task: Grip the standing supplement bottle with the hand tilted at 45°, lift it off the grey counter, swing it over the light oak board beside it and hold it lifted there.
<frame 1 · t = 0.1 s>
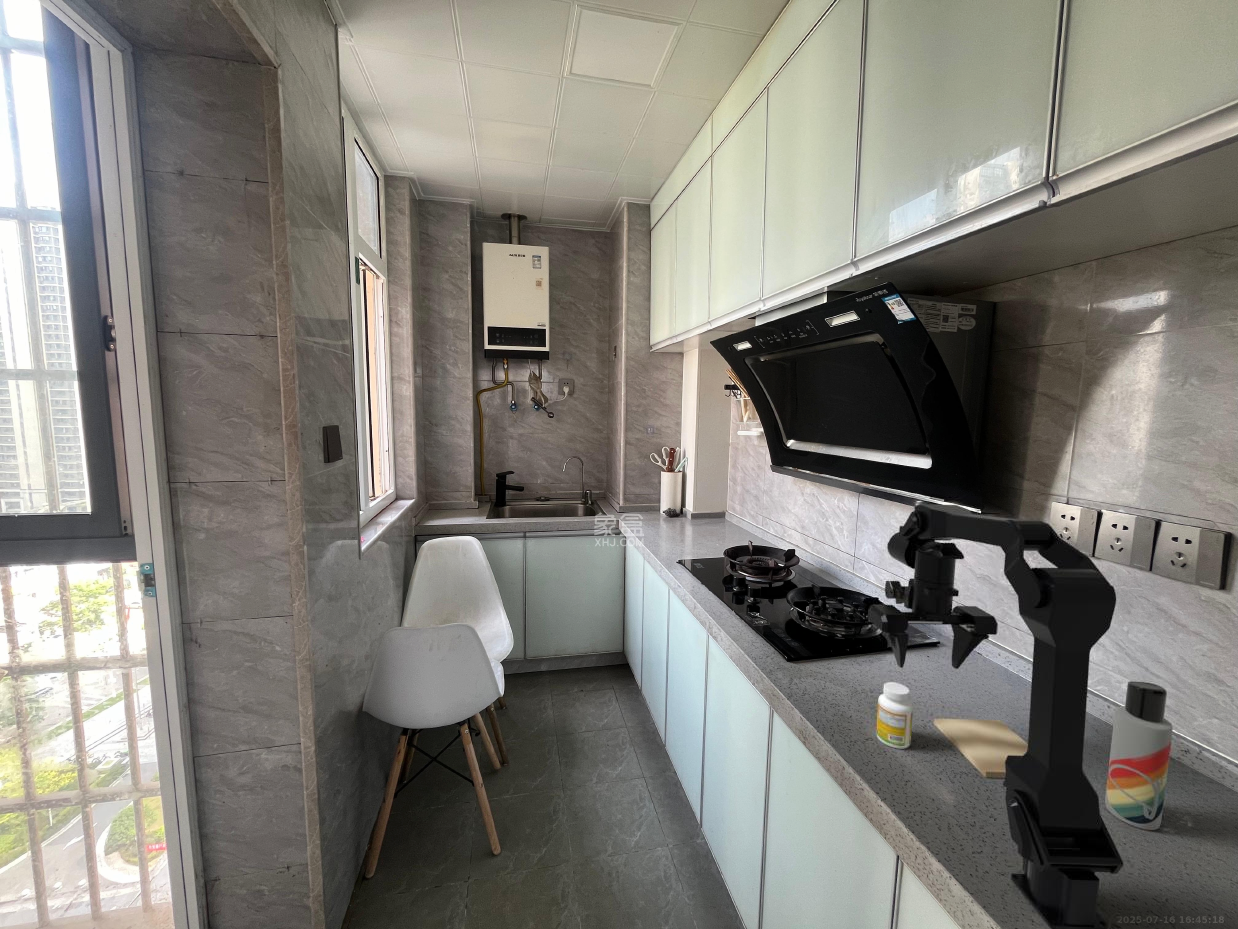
hand: (927, 667, 86), 15 cm above the worktop, tool pointing down, fingers open, 9 cm apart
supplement bottle: (893, 740, 90), on the worktop
lotion bottle: (1131, 816, 73), on the worktop
oak board: (992, 749, 87), on the worktop
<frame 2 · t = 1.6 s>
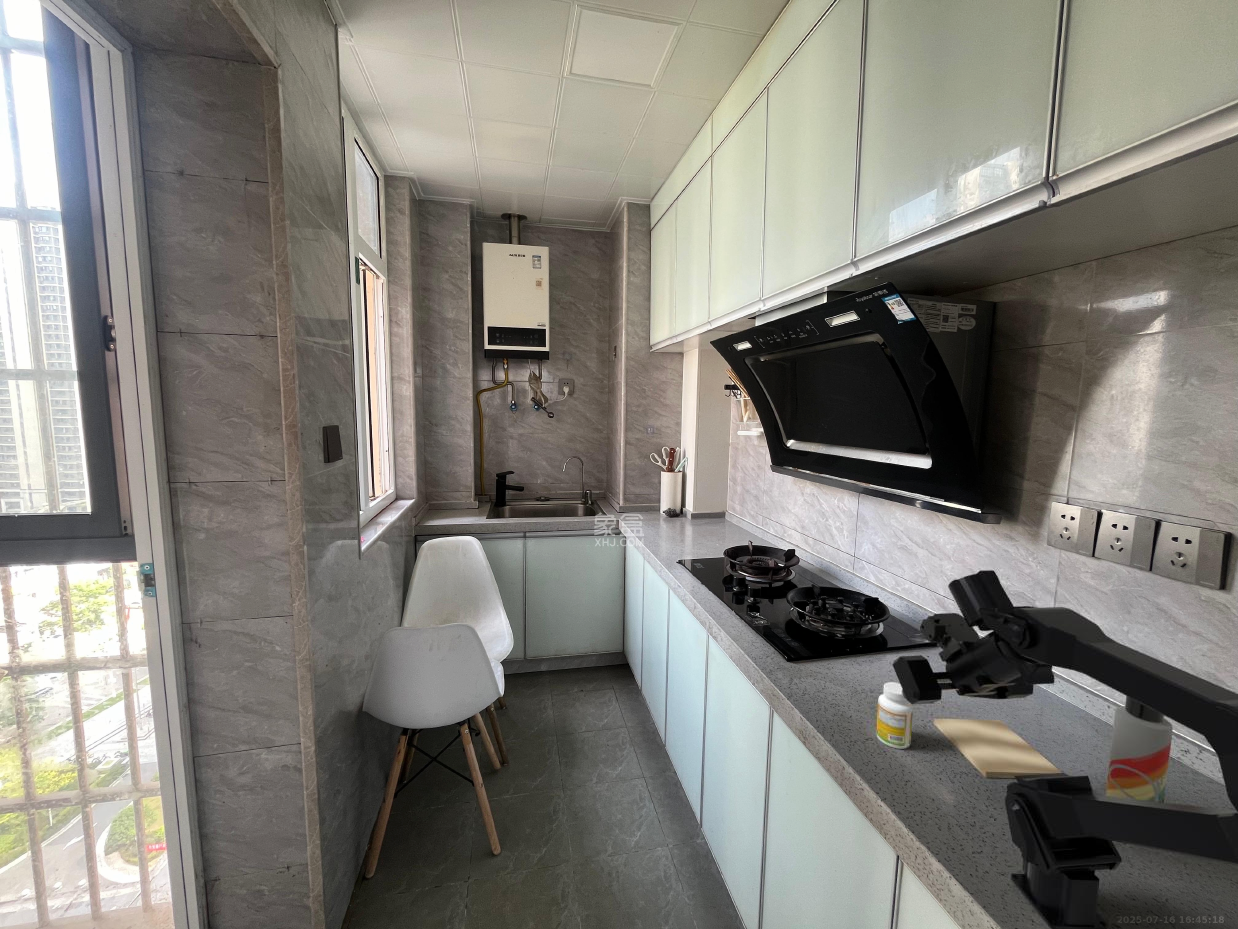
hand: (930, 693, 80), 13 cm above the worktop, tool tilted 45°, fingers open, 9 cm apart
nothing on the worktop moved.
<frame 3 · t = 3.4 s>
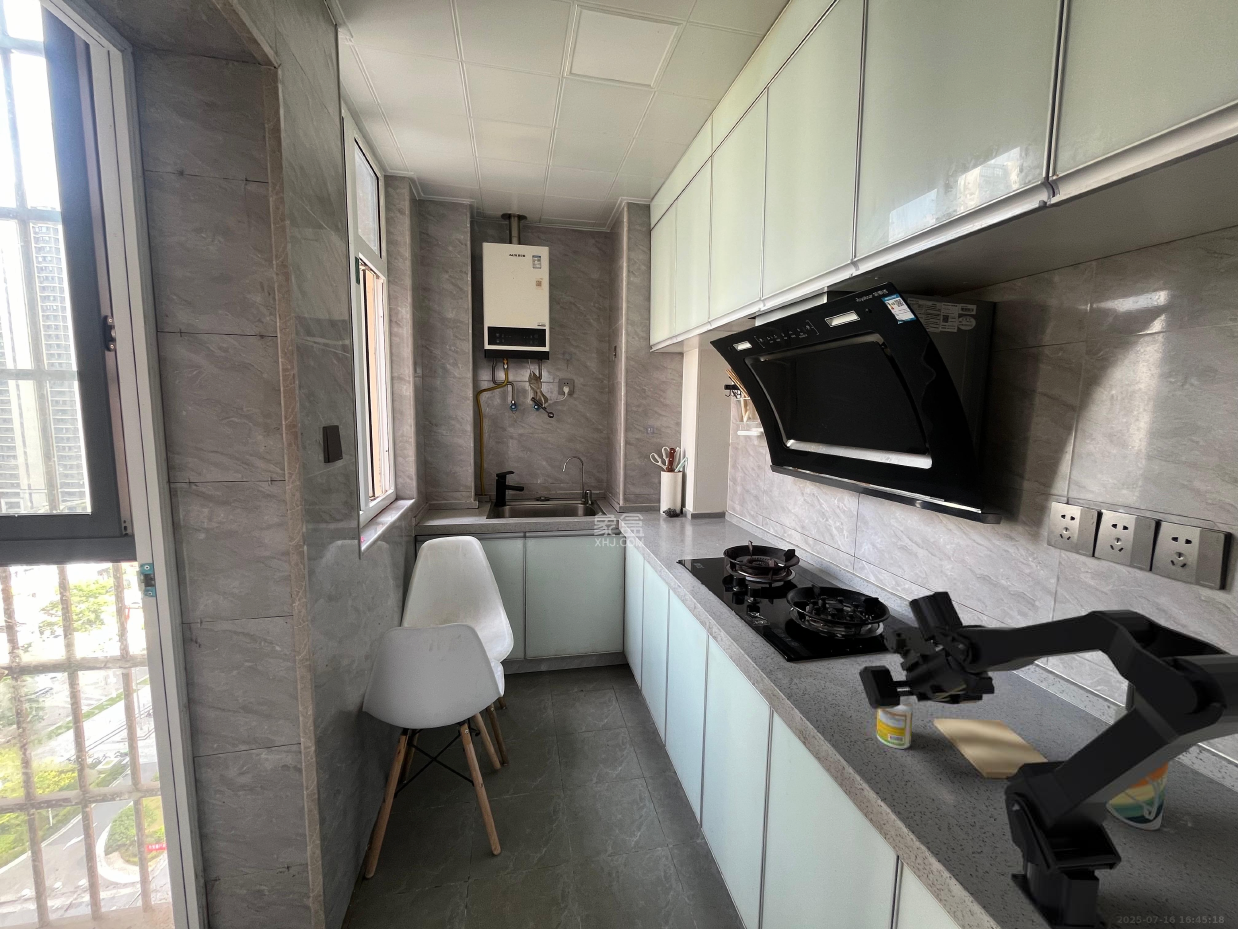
hand: (894, 697, 89), 8 cm above the worktop, tool tilted 45°, fingers open, 9 cm apart
nothing on the worktop moved.
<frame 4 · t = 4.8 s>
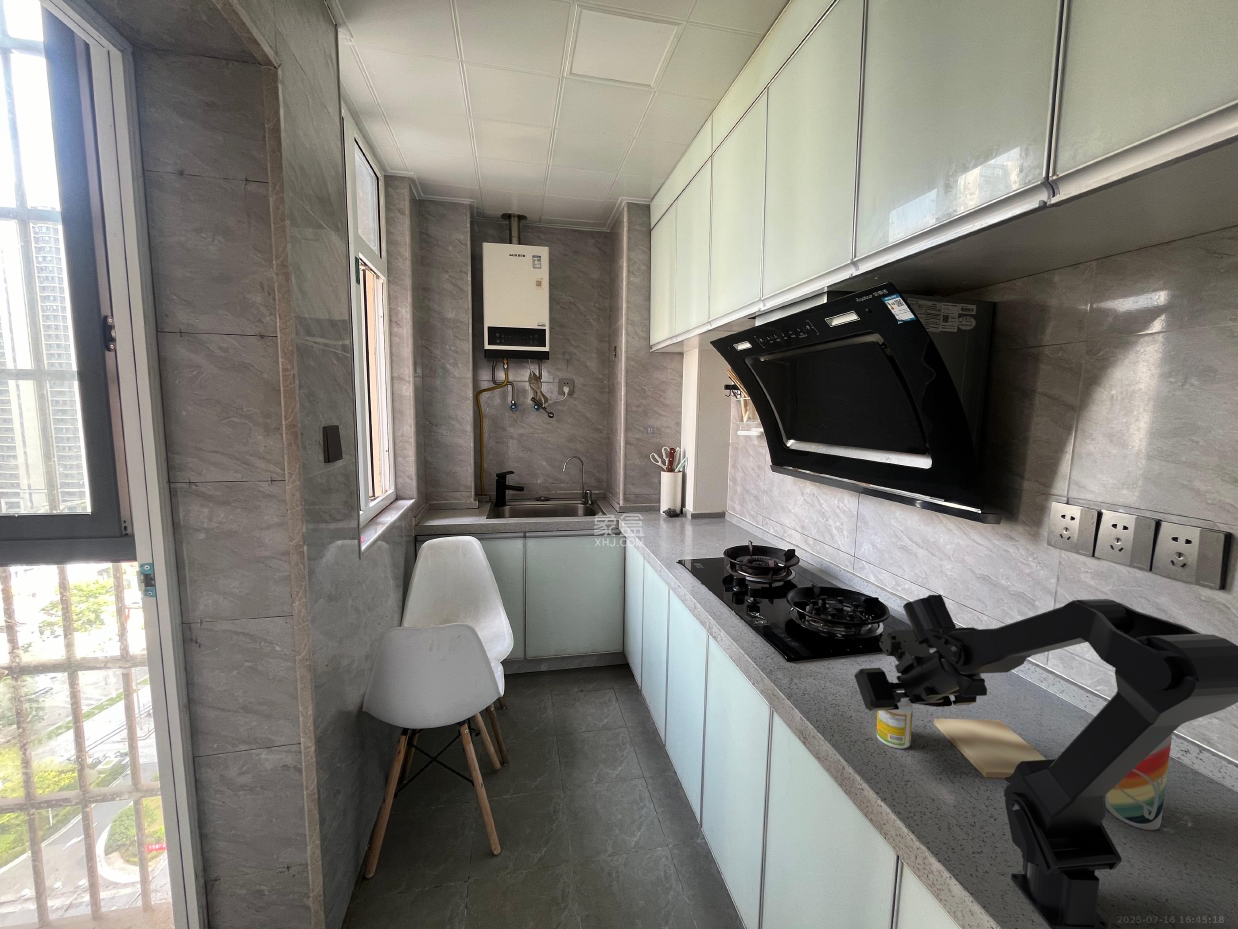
hand: (890, 700, 90), 7 cm above the worktop, tool tilted 45°, fingers closed on supplement bottle, 5 cm apart
supplement bottle: (893, 740, 90), on the worktop, touching gripper
everything else where it was.
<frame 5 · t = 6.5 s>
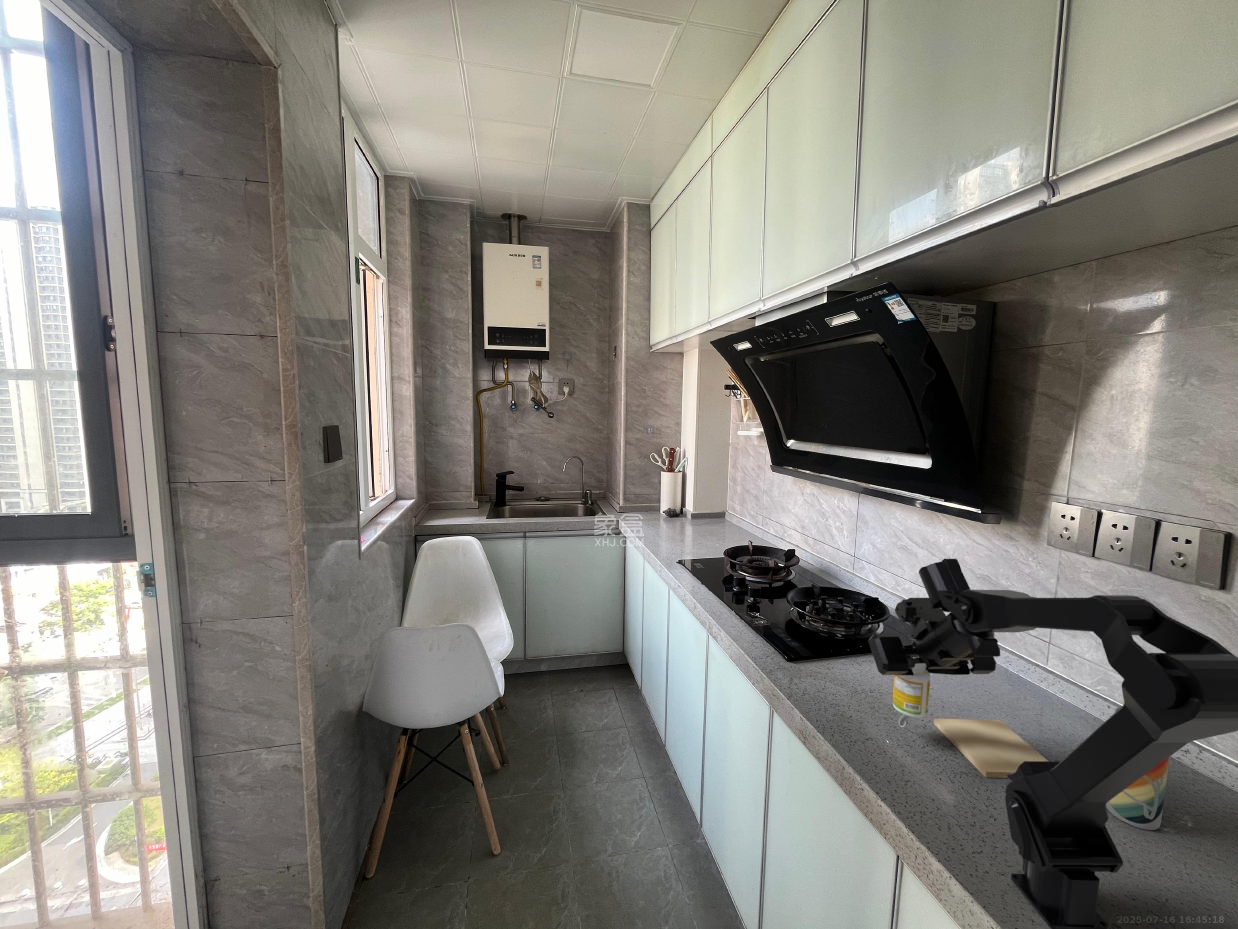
hand: (907, 669, 90), 12 cm above the worktop, tool tilted 45°, fingers closed on supplement bottle, 5 cm apart
supplement bottle: (909, 710, 89), point 5 cm above the worktop, touching gripper
everything else where it was.
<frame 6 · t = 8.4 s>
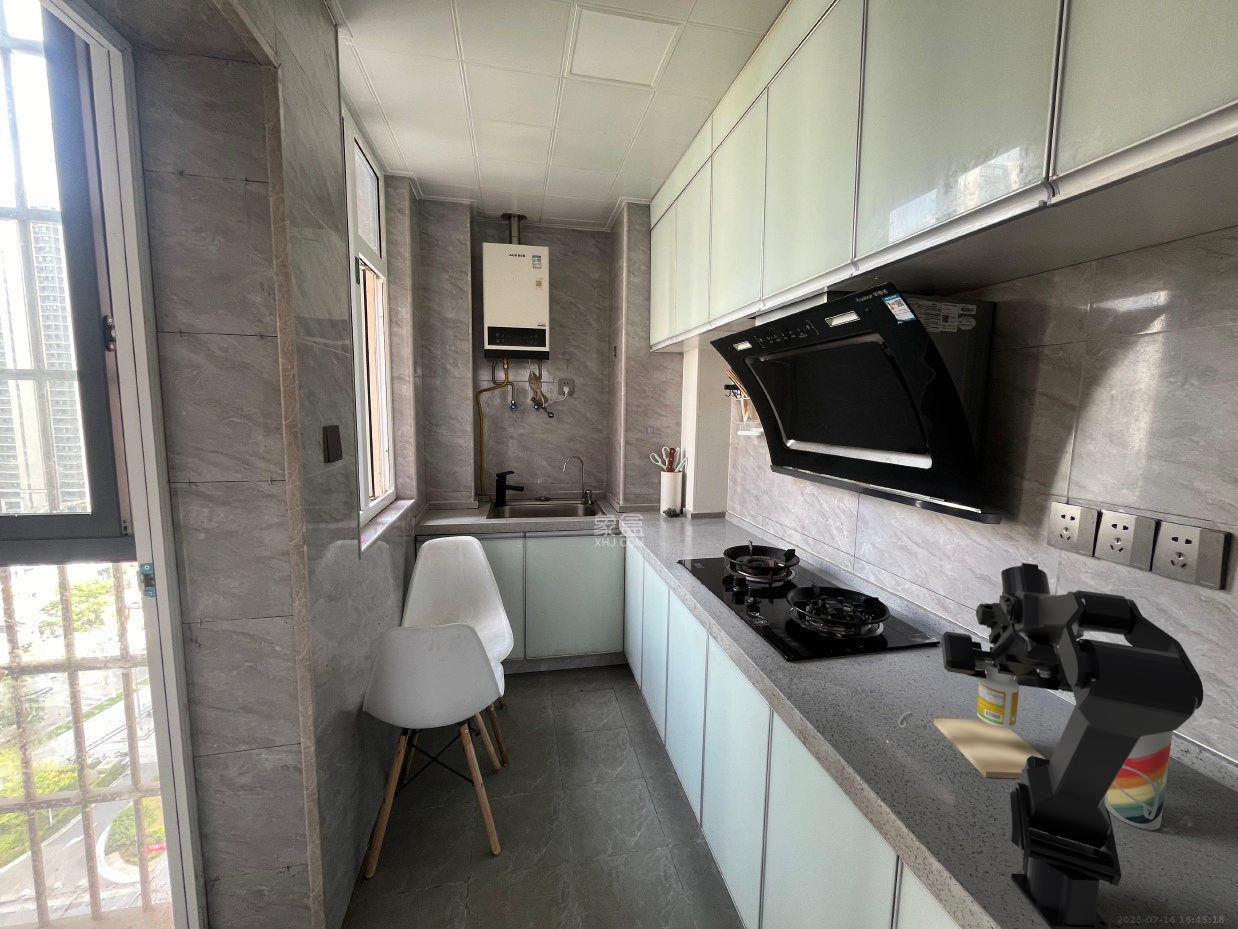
hand: (996, 678, 87), 12 cm above the worktop, tool tilted 45°, fingers closed on supplement bottle, 5 cm apart
supplement bottle: (995, 720, 86), point 5 cm above the worktop, touching gripper
everything else where it was.
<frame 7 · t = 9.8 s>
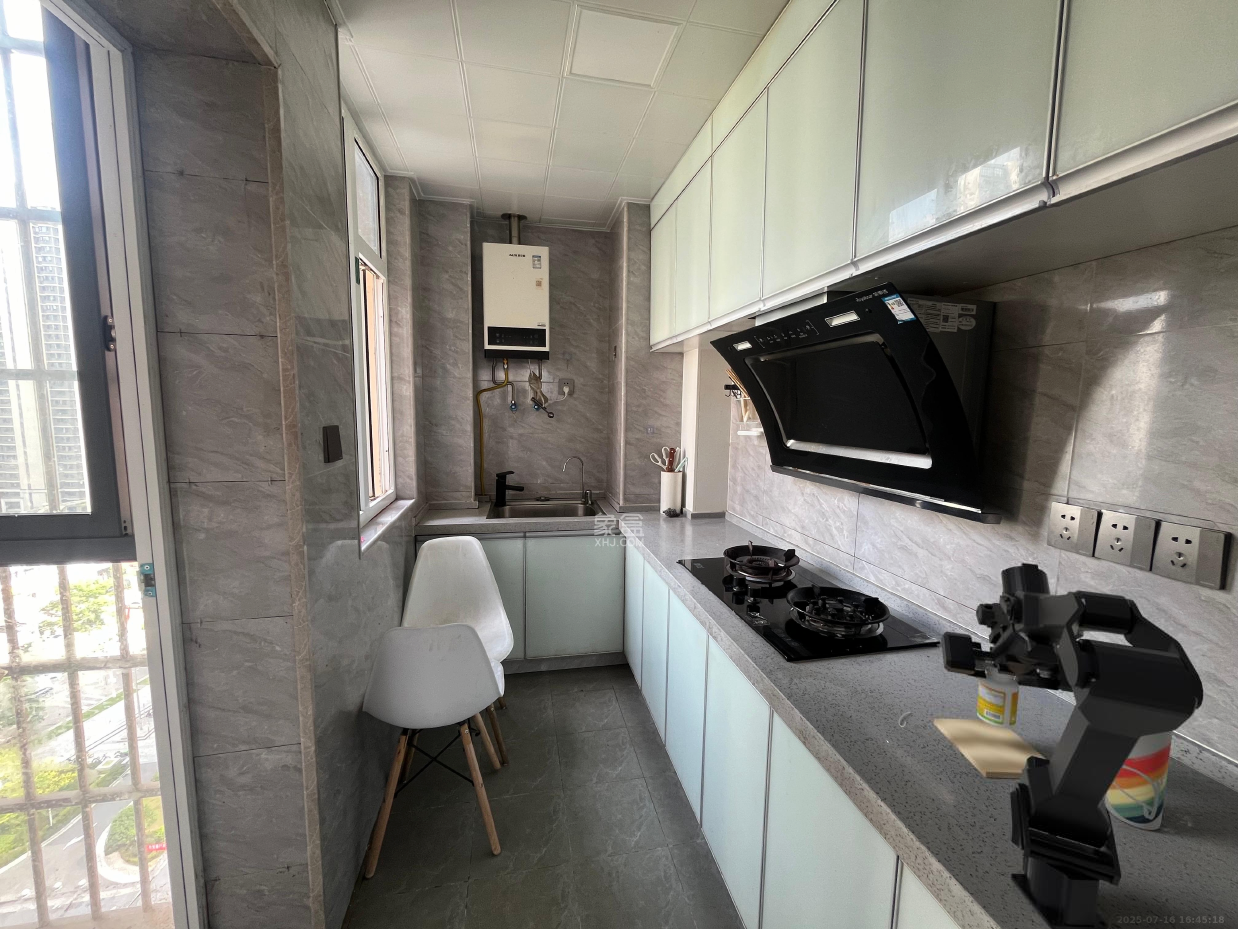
hand: (996, 678, 87), 12 cm above the worktop, tool tilted 45°, fingers closed on supplement bottle, 5 cm apart
supplement bottle: (995, 720, 86), point 5 cm above the worktop, touching gripper
everything else where it was.
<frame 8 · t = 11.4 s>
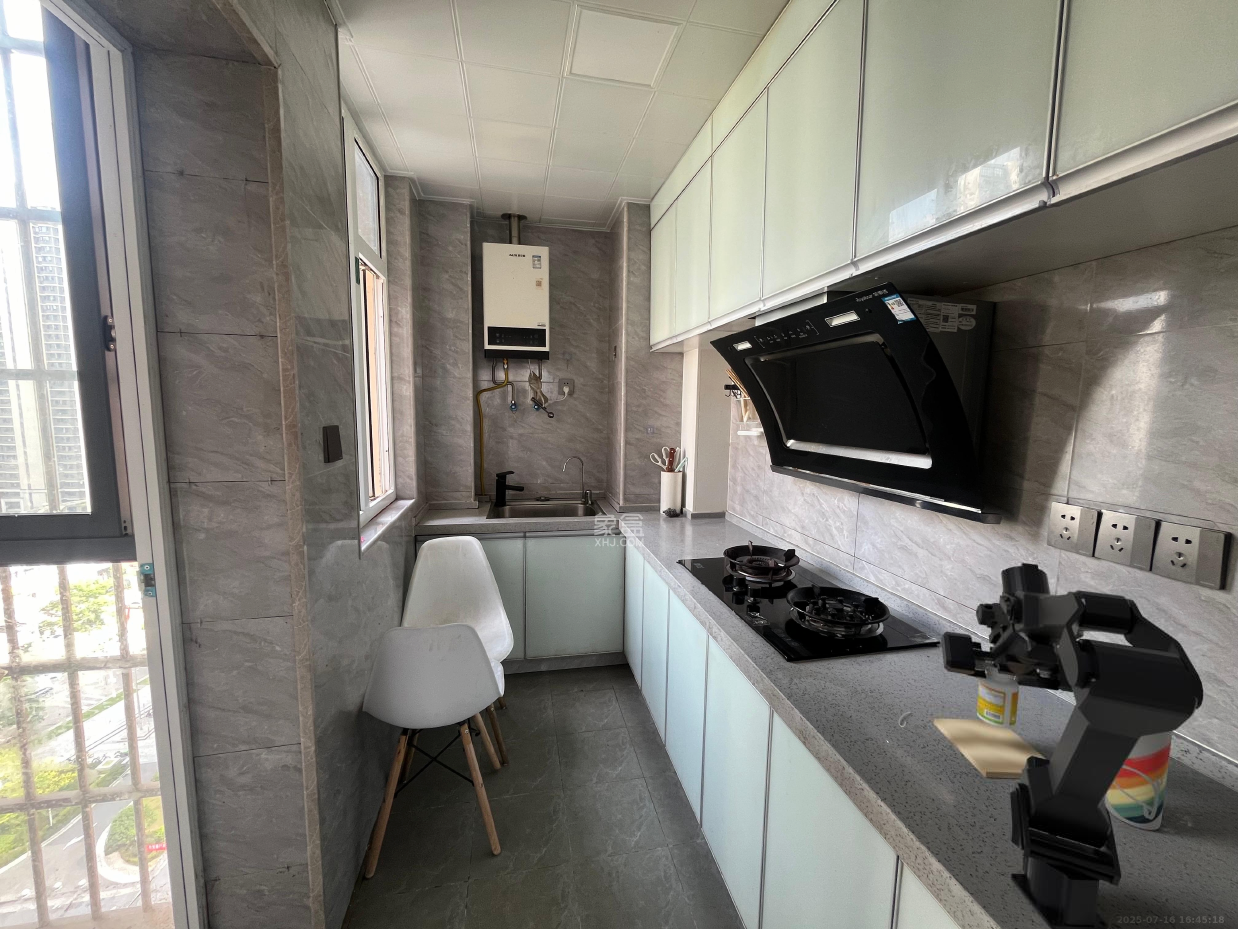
hand: (996, 678, 87), 12 cm above the worktop, tool tilted 45°, fingers closed on supplement bottle, 5 cm apart
supplement bottle: (995, 720, 86), point 5 cm above the worktop, touching gripper
everything else where it was.
at the end: the gripper is holding supplement bottle; supplement bottle point 5.3 cm above the worktop; supplement bottle inside the target area on the oak board (0.2 cm from its centre), point 5.3 cm above the oak board's base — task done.
